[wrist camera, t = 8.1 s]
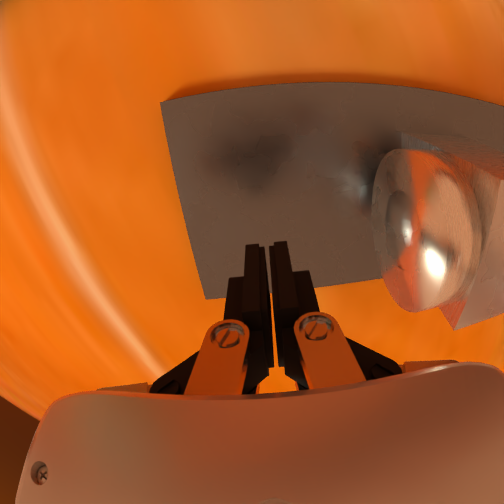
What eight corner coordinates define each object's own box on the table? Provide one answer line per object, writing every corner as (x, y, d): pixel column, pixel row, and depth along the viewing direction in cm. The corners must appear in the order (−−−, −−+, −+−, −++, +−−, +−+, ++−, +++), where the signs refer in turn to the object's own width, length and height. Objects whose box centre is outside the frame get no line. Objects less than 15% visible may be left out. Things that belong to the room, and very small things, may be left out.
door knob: (521, 148, 13) (592, 189, 7) (504, 236, 18) (559, 290, 11) (373, 134, 14) (464, 181, 7) (367, 255, 18) (418, 346, 11)
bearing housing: (508, 108, 13) (595, 143, 5) (485, 253, 21) (541, 318, 13) (163, 101, 14) (79, 122, 6) (206, 292, 22) (192, 402, 14)
